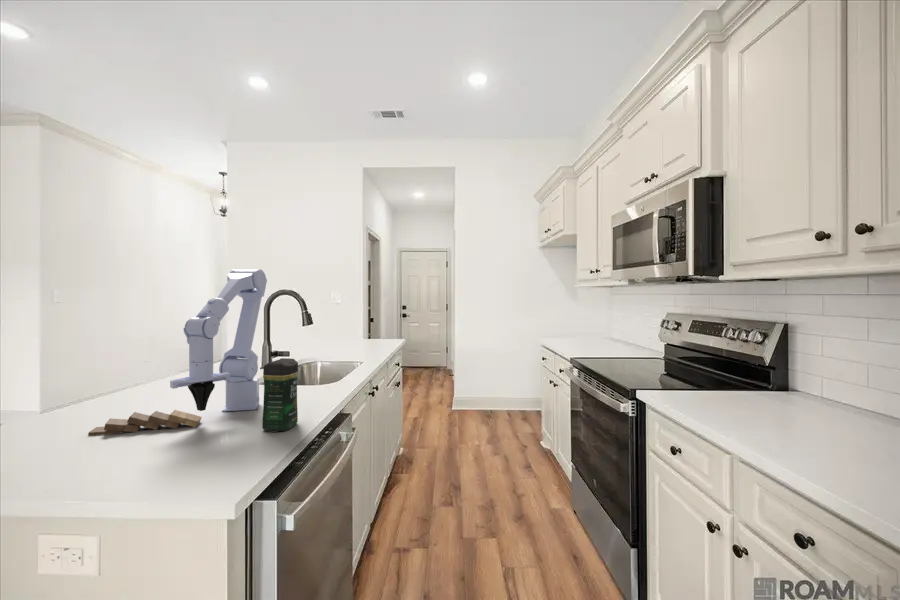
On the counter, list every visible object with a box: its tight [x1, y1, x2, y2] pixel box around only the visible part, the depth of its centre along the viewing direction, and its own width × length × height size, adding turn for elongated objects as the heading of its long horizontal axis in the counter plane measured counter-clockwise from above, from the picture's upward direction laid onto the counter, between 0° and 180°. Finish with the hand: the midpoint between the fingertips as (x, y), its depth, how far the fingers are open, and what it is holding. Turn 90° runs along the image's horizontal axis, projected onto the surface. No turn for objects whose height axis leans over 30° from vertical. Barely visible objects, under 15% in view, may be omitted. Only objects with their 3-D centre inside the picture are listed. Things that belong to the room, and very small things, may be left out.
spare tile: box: [168, 409, 203, 428], centre depth 116 cm, size 2×4×7 cm
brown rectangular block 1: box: [104, 418, 142, 433], centre depth 111 cm, size 2×4×7 cm
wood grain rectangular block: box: [87, 426, 125, 436], centre depth 110 cm, size 2×4×7 cm
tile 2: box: [148, 410, 182, 430], centre depth 114 cm, size 2×4×7 cm
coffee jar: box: [261, 357, 299, 433], centre depth 115 cm, size 10×8×19 cm
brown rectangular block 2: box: [127, 411, 161, 431], centre depth 113 cm, size 2×4×7 cm
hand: (201, 409), depth 117 cm, fingers closed
